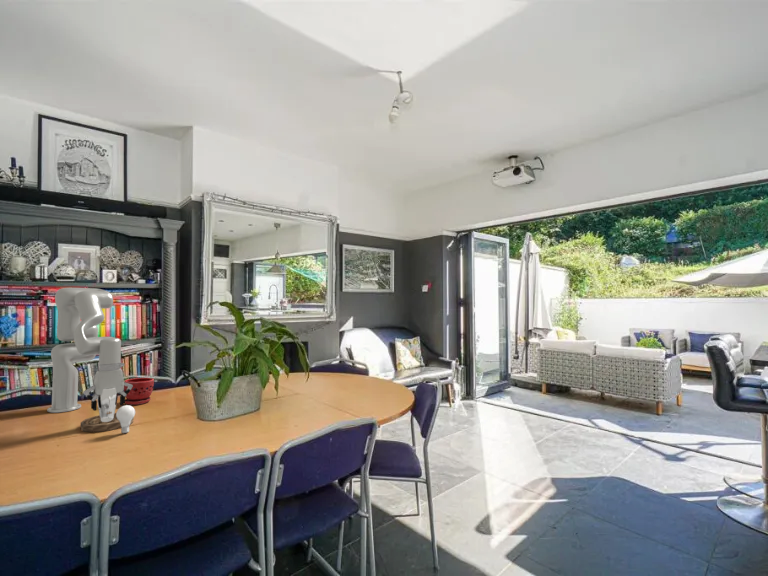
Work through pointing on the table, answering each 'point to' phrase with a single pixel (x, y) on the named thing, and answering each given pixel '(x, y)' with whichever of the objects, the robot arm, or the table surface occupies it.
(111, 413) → the beer glass
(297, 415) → the table surface
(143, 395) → the plant pot
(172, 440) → the table surface
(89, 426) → the tray
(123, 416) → the lightbulb
